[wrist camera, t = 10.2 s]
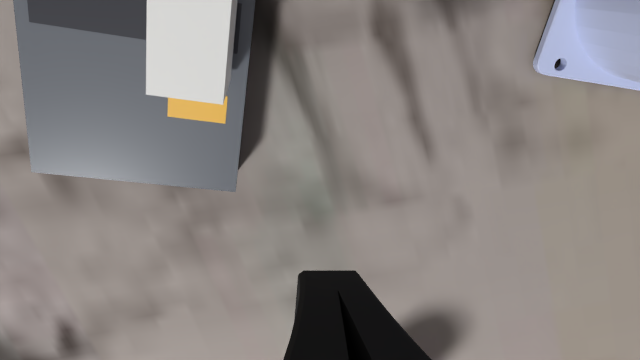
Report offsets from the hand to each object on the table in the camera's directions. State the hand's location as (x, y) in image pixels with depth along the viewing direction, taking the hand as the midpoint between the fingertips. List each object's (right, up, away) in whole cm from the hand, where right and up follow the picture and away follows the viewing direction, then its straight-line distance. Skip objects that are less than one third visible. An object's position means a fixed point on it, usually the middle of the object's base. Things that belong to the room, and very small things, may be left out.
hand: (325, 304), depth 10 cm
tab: (-4, +8, +4) cm, 9 cm away
